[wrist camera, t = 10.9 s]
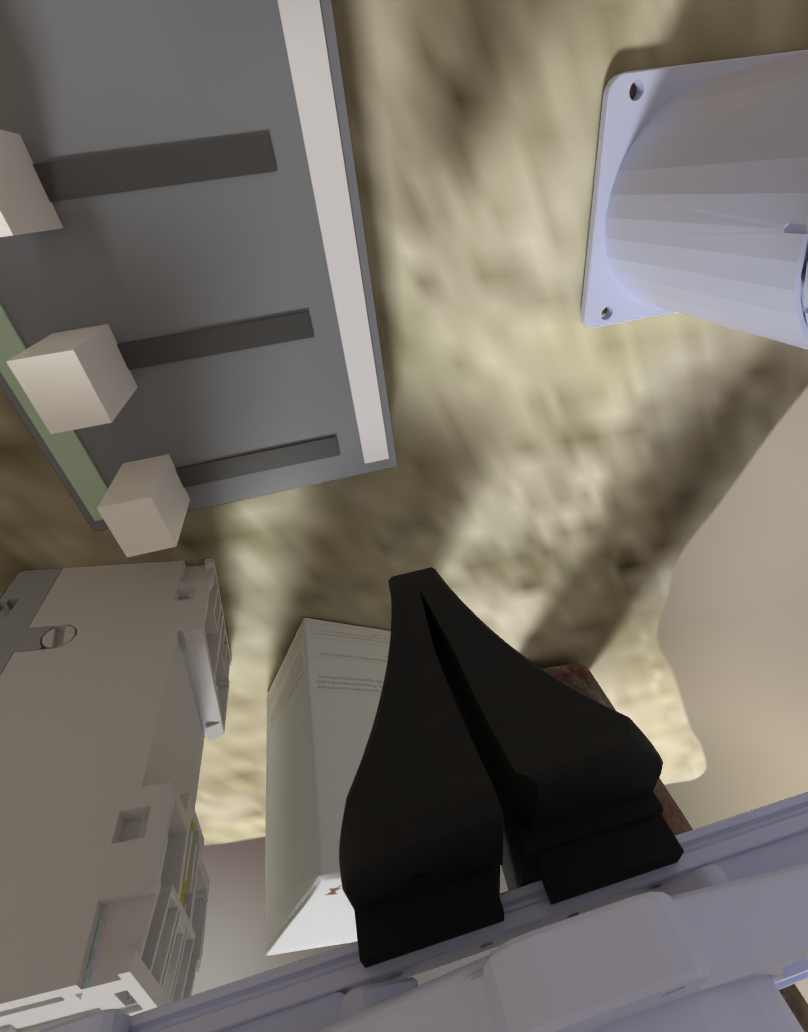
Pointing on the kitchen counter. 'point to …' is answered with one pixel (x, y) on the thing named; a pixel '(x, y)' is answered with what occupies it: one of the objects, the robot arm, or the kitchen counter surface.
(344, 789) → the supplement box
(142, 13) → the breaker panel
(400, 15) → the kitchen counter surface
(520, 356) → the kitchen counter surface
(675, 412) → the kitchen counter surface
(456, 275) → the kitchen counter surface
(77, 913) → the circuit breaker
